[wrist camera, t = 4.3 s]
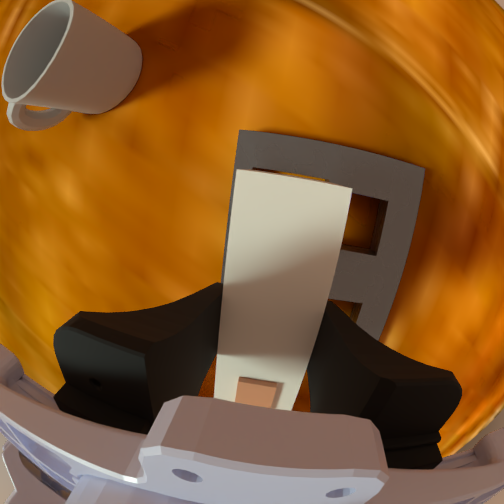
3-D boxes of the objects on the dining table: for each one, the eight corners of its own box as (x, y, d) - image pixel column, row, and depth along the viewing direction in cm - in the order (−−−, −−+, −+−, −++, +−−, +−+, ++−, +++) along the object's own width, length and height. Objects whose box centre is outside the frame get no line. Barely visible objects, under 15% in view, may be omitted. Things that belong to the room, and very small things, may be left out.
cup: (161, 66, 16) (89, 19, 7) (80, 156, 18) (-4, 162, 10) (121, 26, 14) (58, -13, 6) (52, 108, 17) (-20, 102, 9)
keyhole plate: (359, 362, 20) (363, 374, 19) (219, 342, 21) (214, 353, 20) (414, 168, 16) (425, 168, 14) (243, 133, 16) (239, 129, 15)
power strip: (288, 363, 16) (285, 429, 11) (231, 353, 16) (211, 416, 11) (328, 181, 12) (354, 189, 7) (255, 169, 13) (234, 169, 8)
